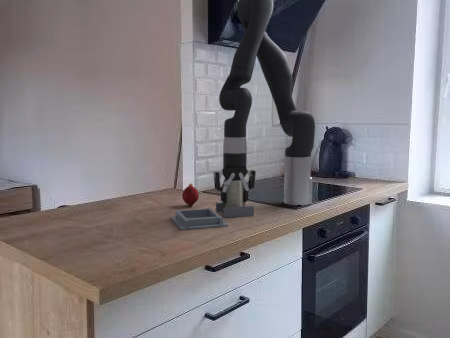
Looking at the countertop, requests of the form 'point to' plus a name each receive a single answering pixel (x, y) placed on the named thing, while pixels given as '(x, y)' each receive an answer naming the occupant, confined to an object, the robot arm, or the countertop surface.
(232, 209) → the slot
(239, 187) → the box
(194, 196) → the onion
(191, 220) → the grey square tray
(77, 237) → the countertop surface
